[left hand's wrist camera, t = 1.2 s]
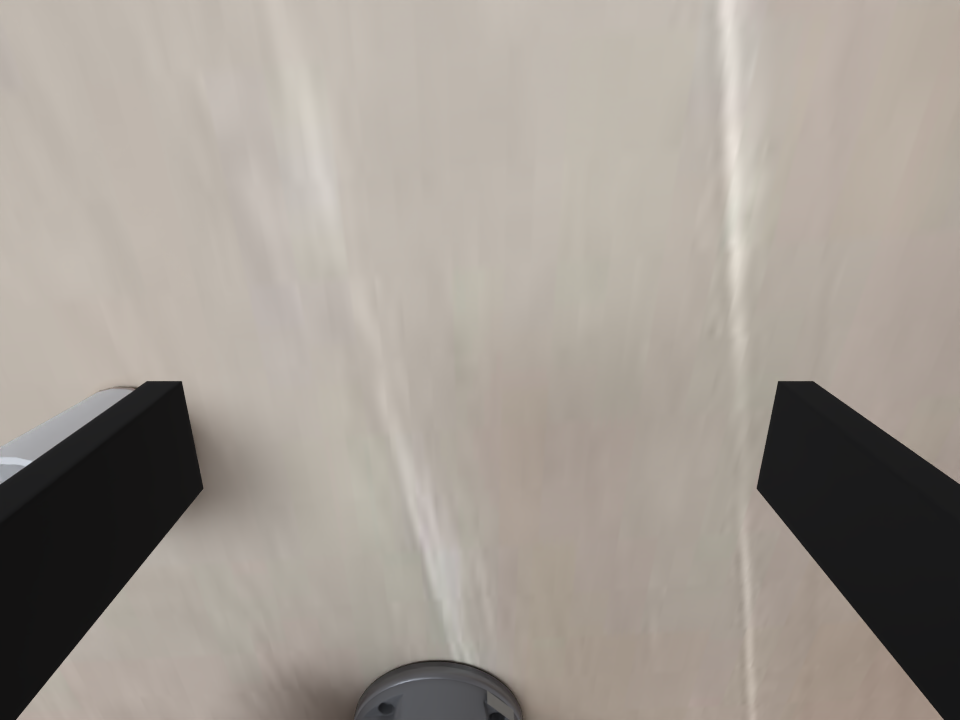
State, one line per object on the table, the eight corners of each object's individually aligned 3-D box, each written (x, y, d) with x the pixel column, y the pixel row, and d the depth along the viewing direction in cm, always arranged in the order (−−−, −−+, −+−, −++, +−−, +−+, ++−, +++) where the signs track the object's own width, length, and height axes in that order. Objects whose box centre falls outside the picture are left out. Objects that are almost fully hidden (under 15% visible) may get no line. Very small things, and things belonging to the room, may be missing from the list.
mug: (105, 355, 39) (-20, 425, 29) (220, 428, 41) (138, 516, 31) (39, 463, 42) (-93, 559, 32) (149, 526, 44) (55, 634, 34)
